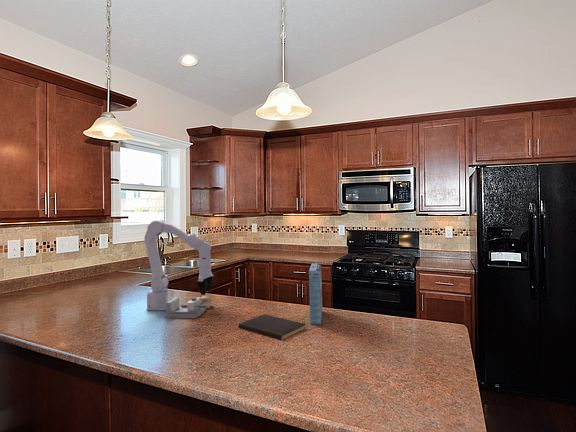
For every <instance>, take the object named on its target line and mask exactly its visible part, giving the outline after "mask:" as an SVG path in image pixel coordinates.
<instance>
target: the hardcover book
mask: <svg viewBox="0 0 576 432" xmlns="http://www.w3.org/2000/svg"><path fill="white" fill-rule="evenodd" d="M306 325H307V323H303V322H298V321H295V320H291V319H287V318H286V319H285V318H284V317H283V318H282V317H278V316H274V315H269V314H265V313H264V314H260V315H258V316H256V317H253V318H249V319H248V320H244V321H242V322H239V323H238V329H242V330H245V331H248V332H252V333H255V334H258V335H263V336H266V337H270V338H273V339H276V340H279V341H282V340H284V339H286V338H288V337H290V336H292V335H294V334H296V333H298V332H300V331H302V330H305V329H306Z"/></svg>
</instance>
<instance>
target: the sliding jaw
mask: <svg viewBox="0 0 576 432" xmlns="http://www.w3.org/2000/svg"><path fill="white" fill-rule="evenodd" d="M200 298H201V297H196V296H193V297H192V298H190V300H189V301H187V302H186V303H187V311H197V310H198V309H199V308H201V300H200Z"/></svg>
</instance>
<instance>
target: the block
mask: <svg viewBox="0 0 576 432" xmlns="http://www.w3.org/2000/svg"><path fill="white" fill-rule="evenodd" d="M199 298H200V300H201V305H206V309H209V308H211V306H212V296H211V295H202V296H201V297H199ZM208 307H209V308H208Z"/></svg>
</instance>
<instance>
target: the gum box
mask: <svg viewBox="0 0 576 432" xmlns="http://www.w3.org/2000/svg"><path fill="white" fill-rule="evenodd" d="M322 277H323V276H322V263H311V265H310V268H309V270H308V285H309V287H308V288H309V291H308V292H309V324H310V325H321V324H322V318H323V317H322V316H323V287H322V286H323V283H322V281H323V280H322Z"/></svg>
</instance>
